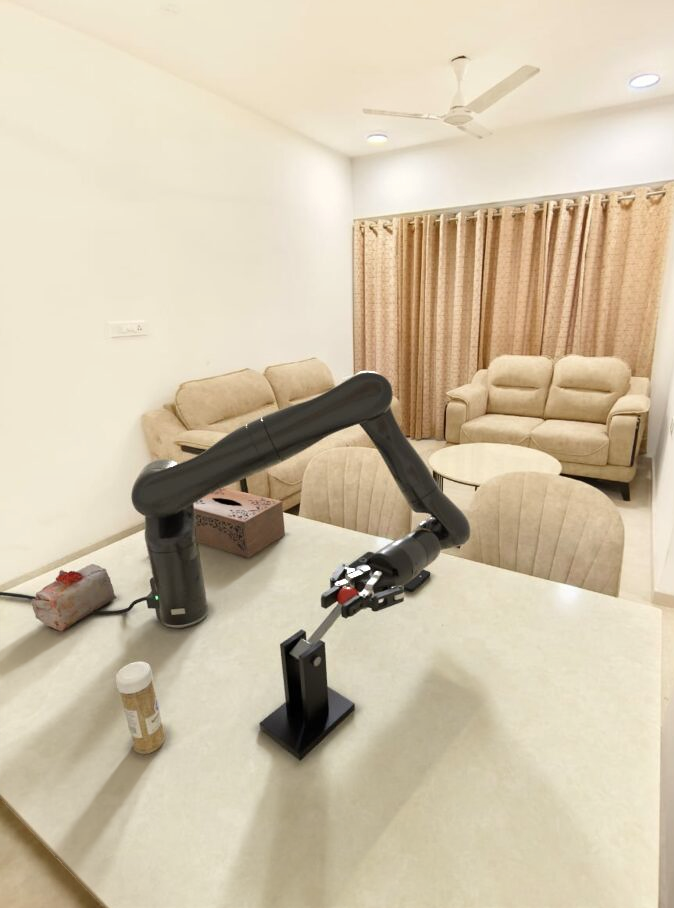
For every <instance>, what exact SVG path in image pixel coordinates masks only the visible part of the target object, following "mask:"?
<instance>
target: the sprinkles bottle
mask: <svg viewBox="0 0 674 908" xmlns="http://www.w3.org/2000/svg"><path fill="white" fill-rule="evenodd" d="M153 676H154V675H153V672H152V667H151V665H150V664H149V663H147V662H145V661H134V662H131V663H128V664H126V665H125V666H123V667H121V668H120V670H118V671H117V672H116V675H115V683H116V688H117V690H118V692H119V693H120V697H121V701H122V707H123V711H124V714H125V719H126V723H127V726H128V730H129V734H130V735H131V738H132V742H133V744H132V747H133V750H134V751H135V752H136V753H138V754H141V755H146V754H151V753H153V752H155V751H157V750H158V749H160V747H161V746H162V745H163V744H164V743H165V740H166V732H165V730H164V727H163V722H162V715H161V712H160V707H159V702H158V698H157V695H156V691H155V687H154V682H153V678H154V677H153Z"/></svg>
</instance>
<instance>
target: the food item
mask: <svg viewBox="0 0 674 908" xmlns="http://www.w3.org/2000/svg"><path fill="white" fill-rule="evenodd" d="M58 573H59V574H58V576H56V577H55V581H52V582H51V583H49V584H47V585H45V586H44V587H43V588H42V589H40V590H39V591H37V592H36V593H35V597H36V598H35V599H31V601H30V602H29V603H30V605H31V606H32V610H33V613H34V616H35V619H36V620H39V621H40V622H41V623H42V624H43V625H44V626H46V627H50V628H52V629H55V630H57V631H59V632H64V631H65V630H67V629H68V628H71V627H72V626H73V625H74V624H76V623H77V622H79V621H80V620H82V619H84V618H85V617H86V616H88V615H91V614H92V613H91V612H92V611H94V610H100V609H101V608H102V607H103V606H105V605H107V604H109V603H110V602H112V601H113V600H115V599H117V596H116V595H115V593H114V592H115V591H114V586H113V584H112V581H111V577H110V576H109V573H108V571H107V568H103V567H101V566H100V565H97V564H94V563H91V564H89V565H87V566H85V567H83V568H81V569H79V570H77V571H76V570H70V571H64V570H63V569H60V570H59V572H58Z"/></svg>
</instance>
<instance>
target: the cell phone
mask: <svg viewBox="0 0 674 908" xmlns="http://www.w3.org/2000/svg"><path fill="white" fill-rule="evenodd" d="M374 553H375V552H373V551H367V552H365V553H364V554H363V555H361V556H360V557H359V558H357V559H356V560H354V561H353V562H351V563H349V565H347V568H353V569H355V568H356V567H358V566H362V565H364V564H365V563H366V562H367V560H368V558H369V557H370V556H371V555H372V554H374ZM430 577H431V571H428V570H426V569H423V570H422V571H421V572H420V573H419V574H418V575H417V576H416V577H415V578H413V579H412V580H411V581H409V582H408V583H407V584H405V585H404V591H405V592H409V593H413V592H415V591H416V590H417V589H418V588H419V587H421V586H422V585H423V584H424V583H425V582H426V581H427V580H428V579H429V578H430Z"/></svg>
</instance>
